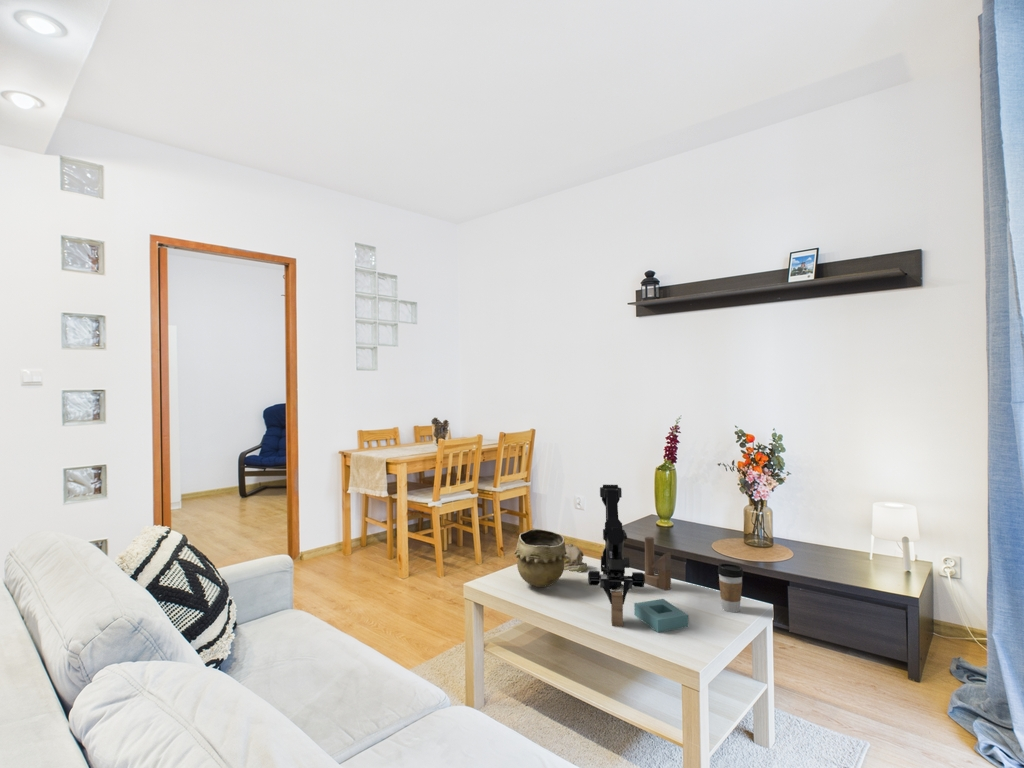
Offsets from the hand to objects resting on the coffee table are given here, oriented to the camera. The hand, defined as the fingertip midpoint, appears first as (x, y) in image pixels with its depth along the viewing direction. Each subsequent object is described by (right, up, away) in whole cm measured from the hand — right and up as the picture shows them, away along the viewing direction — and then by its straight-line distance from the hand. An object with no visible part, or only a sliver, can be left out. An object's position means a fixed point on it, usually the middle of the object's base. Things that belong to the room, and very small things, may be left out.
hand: (617, 603), depth 180 cm
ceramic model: (-9, -7, +57) cm, 59 cm away
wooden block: (+22, -7, +35) cm, 42 cm away
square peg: (0, -7, +1) cm, 7 cm away
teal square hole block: (+15, -7, +3) cm, 17 cm away
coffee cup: (+42, -7, +12) cm, 45 cm away
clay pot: (-23, -7, +36) cm, 43 cm away
